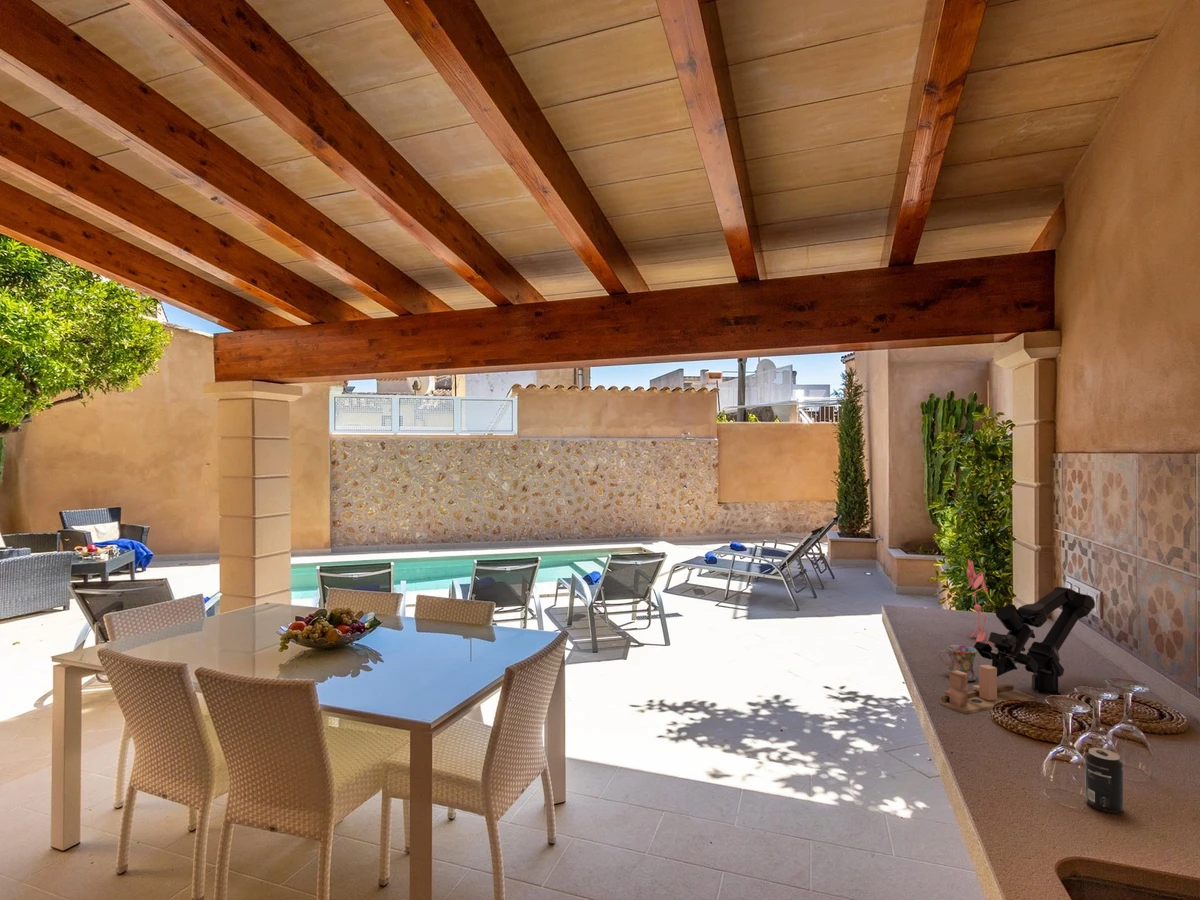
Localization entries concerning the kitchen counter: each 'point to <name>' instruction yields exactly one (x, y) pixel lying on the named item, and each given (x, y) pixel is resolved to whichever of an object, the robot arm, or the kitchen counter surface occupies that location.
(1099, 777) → the beverage can
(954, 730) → the kitchen counter surface
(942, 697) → the trammel board
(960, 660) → the mug
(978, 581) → the figurine
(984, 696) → the block
